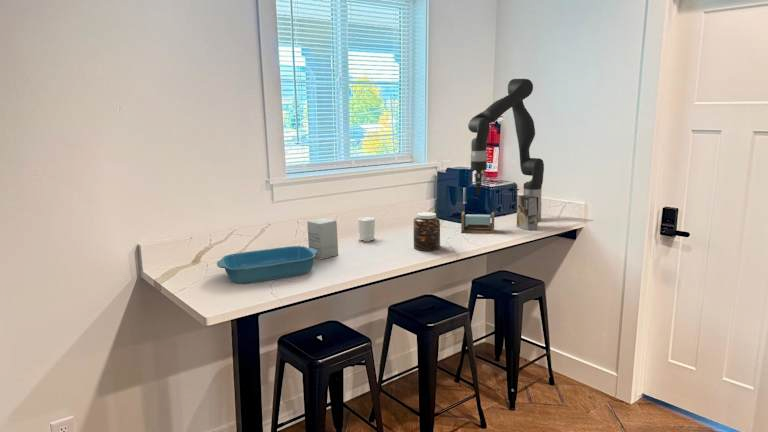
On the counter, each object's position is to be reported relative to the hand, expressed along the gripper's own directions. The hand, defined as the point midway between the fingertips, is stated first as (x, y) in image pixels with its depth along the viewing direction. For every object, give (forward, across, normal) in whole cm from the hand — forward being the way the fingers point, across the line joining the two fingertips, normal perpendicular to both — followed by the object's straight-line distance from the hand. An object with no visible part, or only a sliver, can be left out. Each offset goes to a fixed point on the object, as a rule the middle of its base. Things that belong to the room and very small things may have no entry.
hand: (478, 193), depth 253 cm
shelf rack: (+19, -2, 0) cm, 19 cm away
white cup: (+18, -23, +51) cm, 59 cm away
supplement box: (+18, -53, +63) cm, 84 cm away
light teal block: (+15, -2, 0) cm, 15 cm away
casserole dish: (+18, -79, +76) cm, 111 cm away
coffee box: (+19, +8, -24) cm, 32 cm away
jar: (+18, -36, +22) cm, 46 cm away
